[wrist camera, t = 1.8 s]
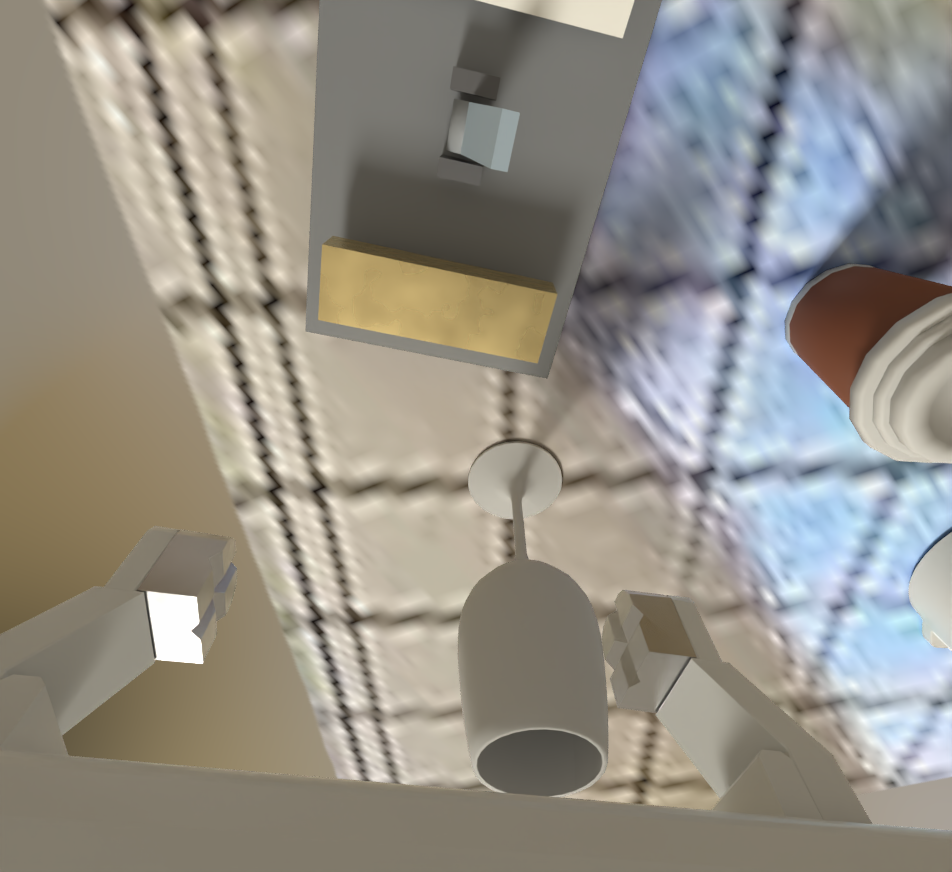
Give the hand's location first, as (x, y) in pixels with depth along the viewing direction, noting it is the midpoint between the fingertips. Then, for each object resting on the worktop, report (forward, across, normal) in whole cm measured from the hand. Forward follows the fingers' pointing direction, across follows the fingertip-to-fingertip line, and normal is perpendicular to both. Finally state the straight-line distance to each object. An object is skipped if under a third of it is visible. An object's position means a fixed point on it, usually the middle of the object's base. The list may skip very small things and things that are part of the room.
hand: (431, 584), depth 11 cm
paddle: (+19, +1, -8) cm, 21 cm away
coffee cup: (+25, -24, -2) cm, 35 cm away
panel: (+25, 0, -8) cm, 27 cm away
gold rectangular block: (+19, +1, -1) cm, 19 cm away
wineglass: (+26, -7, +14) cm, 30 cm away
